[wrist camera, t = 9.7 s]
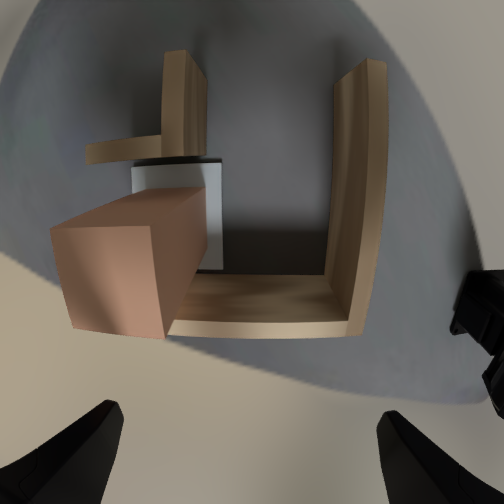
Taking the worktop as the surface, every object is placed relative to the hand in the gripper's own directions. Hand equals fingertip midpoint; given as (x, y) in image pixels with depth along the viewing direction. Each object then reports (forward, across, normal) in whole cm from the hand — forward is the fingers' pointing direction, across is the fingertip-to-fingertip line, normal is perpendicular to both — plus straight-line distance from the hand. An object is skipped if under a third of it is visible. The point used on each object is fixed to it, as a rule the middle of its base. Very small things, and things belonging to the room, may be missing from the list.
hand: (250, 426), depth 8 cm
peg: (+12, +5, -4) cm, 14 cm away
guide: (+12, +1, -6) cm, 14 cm away
